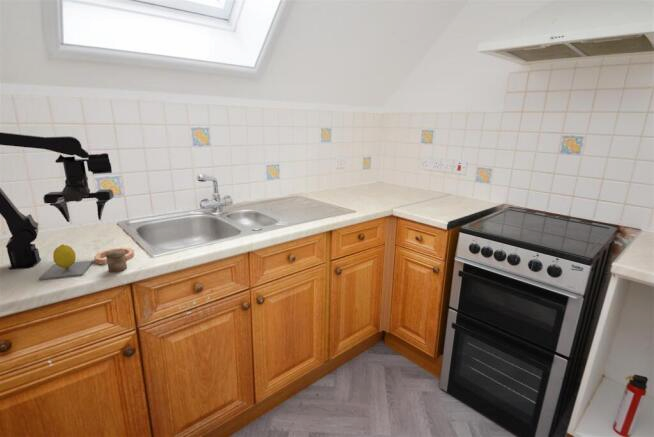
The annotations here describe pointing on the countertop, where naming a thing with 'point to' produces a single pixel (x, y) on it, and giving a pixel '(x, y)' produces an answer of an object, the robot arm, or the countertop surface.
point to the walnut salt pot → (116, 260)
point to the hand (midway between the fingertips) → (84, 220)
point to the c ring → (99, 256)
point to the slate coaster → (66, 270)
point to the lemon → (64, 256)
